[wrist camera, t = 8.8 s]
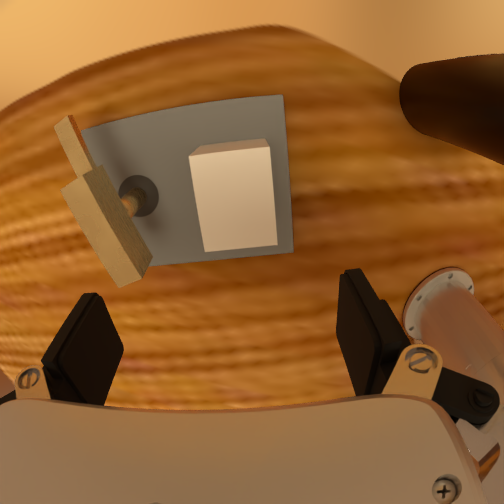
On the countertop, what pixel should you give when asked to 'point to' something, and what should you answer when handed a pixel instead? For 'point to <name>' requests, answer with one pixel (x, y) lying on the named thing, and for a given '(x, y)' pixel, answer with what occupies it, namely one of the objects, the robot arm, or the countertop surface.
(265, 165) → the cream rectangular block
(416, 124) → the water bottle
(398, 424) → the robot arm
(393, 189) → the countertop surface
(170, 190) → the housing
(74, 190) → the key
